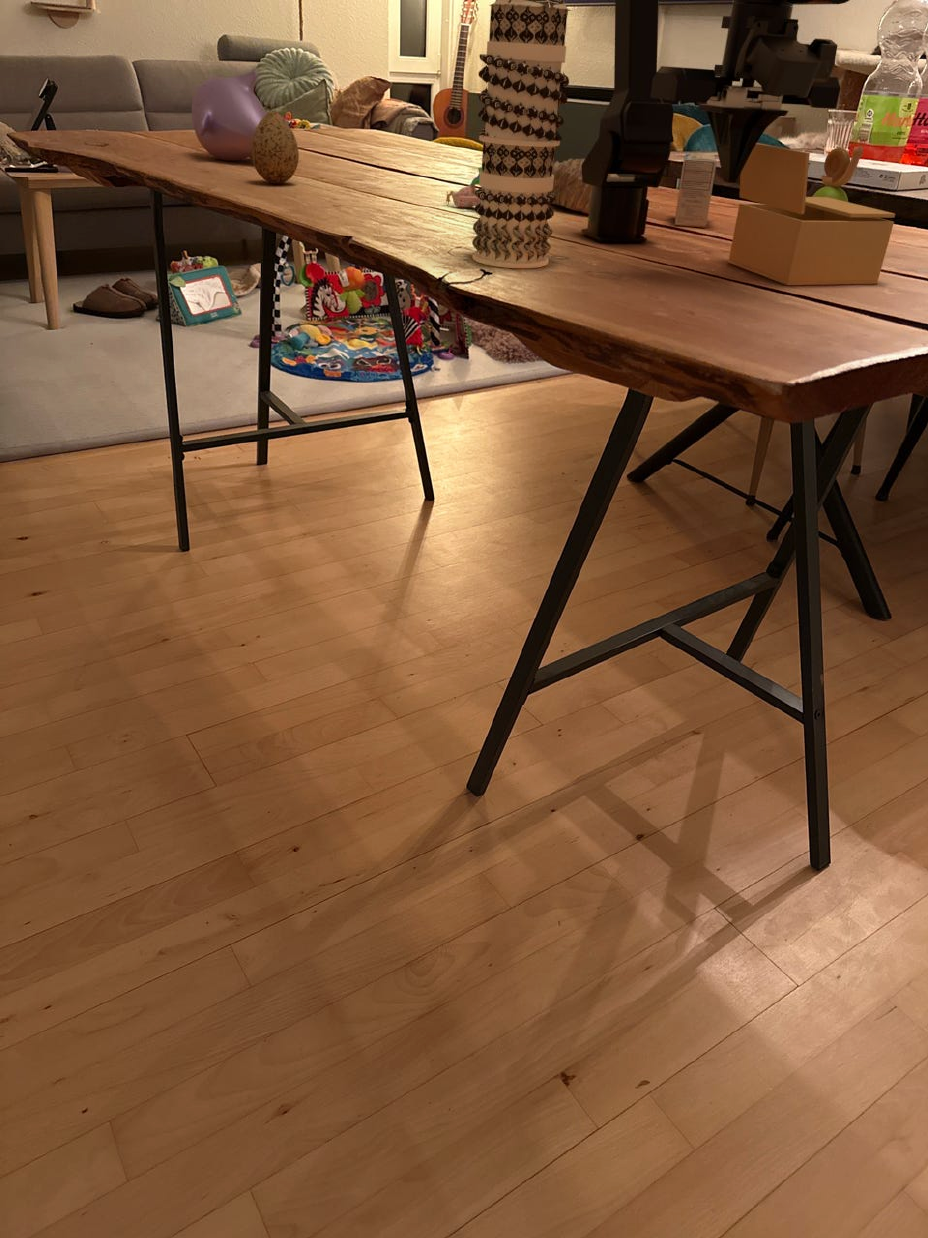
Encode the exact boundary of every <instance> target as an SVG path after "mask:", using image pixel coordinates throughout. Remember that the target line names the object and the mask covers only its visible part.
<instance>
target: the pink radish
mask: <svg viewBox="0 0 928 1238" xmlns="http://www.w3.org/2000/svg"><path fill="white" fill-rule="evenodd" d="M477 170H478V175H477V176H476V177H474V178H473V179H472V180H471V183H470V184H469V185H467V186H464V187H461V188H460V189H459V190H458V191H457V192H455V191H453V190H450V192H449V191H446V198H445V203H446V204H447V205H449V204H450V203H451V199H450V198H451V197H452V201H453V204H454V206H455V207H457V208H460V209H461V208H473V207H475V206H477V205H478V204H480V202H481V200H480V199H479V198H478V197H477V196H476V195H475V192H476V190H478V189H477V188H476V186H479V178H480V171H481V170H482V166H480V167H478V168H477Z"/></svg>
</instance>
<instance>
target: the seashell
mask: <svg viewBox="0 0 928 1238" xmlns="http://www.w3.org/2000/svg"><path fill="white" fill-rule="evenodd" d="M584 160H585V158H575V159H574V158H572V157H571V158H569V159H567V160H563V161H561V162H559V161H558V160H556V161H554V163H553V175H554V182H553V190H552V191H551V193H552V194H554V195H555V200H554V201H553V203H551V205H554V206H560V207H564V208H566V209H569V210H572V211H576V212H581V213H584V214H586V215H589V208H590V200H591V191H592V185H589V184H585V183H583V182H582V168H581V167H582V163H583V162H584ZM608 177H620V176H619V174H609V175H608Z"/></svg>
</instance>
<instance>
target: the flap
mask: <svg viewBox="0 0 928 1238" xmlns="http://www.w3.org/2000/svg"><path fill="white" fill-rule="evenodd" d="M810 155H811V153H810V152H807V151H803V150H797V149H792V148H786V147H783V146H782V147H781V146H776V145H770V144H765V143H761V142H757V143H756V145H755V147H754V149H753V150H752V152H751V154H750V156H749V158H748V160H747V162H746V164H745V166H744V167H743V169H742V171H741V173H740V176H739V177H740V178H739V198H741V199H743V200H747V201H750V202H751V201H752V202H755V203H757V204H766V205H769V206H773V207H776V208H780V209H784V210H787V211H791V212H795V213H798V214H804V212H805V201H806V197H807V190H808V189H807V188H808V179H809V178H808V177H809V166H810Z"/></svg>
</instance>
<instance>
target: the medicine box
mask: <svg viewBox="0 0 928 1238" xmlns="http://www.w3.org/2000/svg"><path fill="white" fill-rule="evenodd" d="M716 168H717V158H716V156H715V155H714V154H707V153H706V154H704V153H686V154H684V157H683V162H682V168H681V174H680V175H681V176H680V181H679V186H678V187H679V188H678V195H677V201H676V206H675V207H676V208H675V214H674V215H675V217H674V218H675V220H674V225H675V226H681V227H690V228H691V227H692V228H701V229H705V228H706V227H707V223H708V217H709V210H710V206H711V199H712V194H713V193H712V192H713V188H714V187H713V186H714V180H715V173H716Z"/></svg>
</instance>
